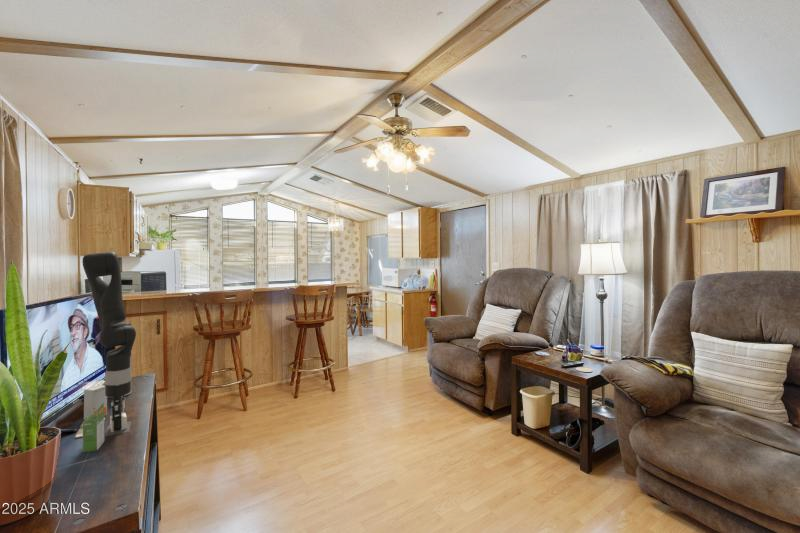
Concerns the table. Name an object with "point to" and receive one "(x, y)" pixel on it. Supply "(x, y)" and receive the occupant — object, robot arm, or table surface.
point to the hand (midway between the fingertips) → (118, 427)
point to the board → (80, 431)
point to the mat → (108, 431)
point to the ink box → (93, 431)
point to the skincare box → (94, 400)
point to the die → (124, 422)
